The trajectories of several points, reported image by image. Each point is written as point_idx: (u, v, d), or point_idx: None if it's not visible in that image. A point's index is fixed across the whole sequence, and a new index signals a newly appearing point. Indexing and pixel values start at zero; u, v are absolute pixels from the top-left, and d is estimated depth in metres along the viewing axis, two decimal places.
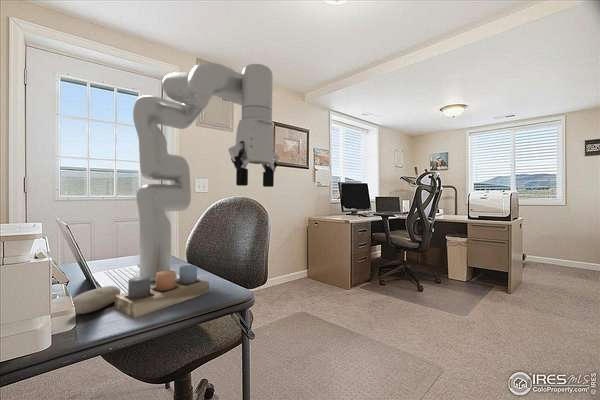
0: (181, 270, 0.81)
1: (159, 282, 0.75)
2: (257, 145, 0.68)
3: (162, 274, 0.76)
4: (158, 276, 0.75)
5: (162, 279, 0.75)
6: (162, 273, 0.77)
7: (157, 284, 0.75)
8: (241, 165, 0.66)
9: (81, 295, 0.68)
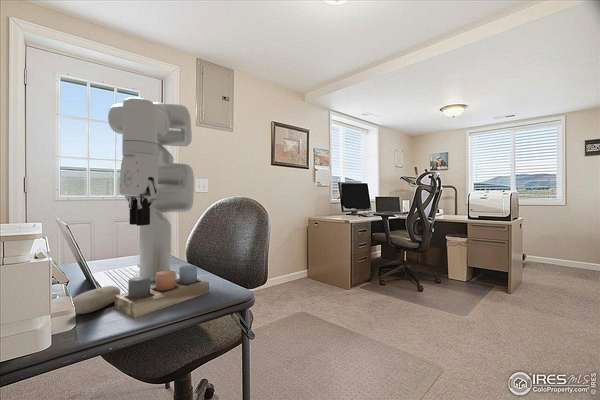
0: (181, 270, 0.81)
1: (159, 282, 0.75)
2: None
3: (162, 274, 0.76)
4: (158, 276, 0.75)
5: (162, 279, 0.75)
6: (162, 273, 0.77)
7: (157, 284, 0.75)
8: (149, 208, 0.70)
9: (81, 295, 0.68)
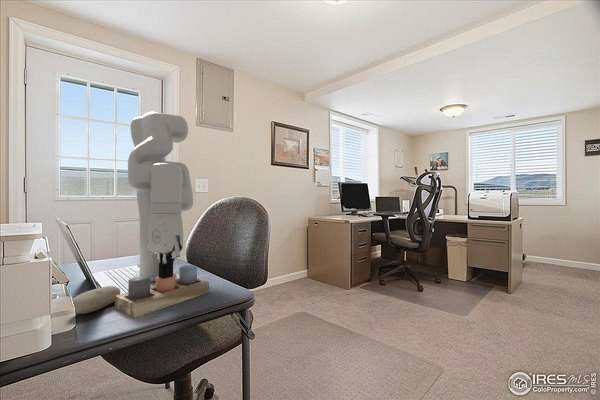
0: (181, 270, 0.81)
1: (159, 286, 0.75)
2: None
3: None
4: (158, 280, 0.75)
5: (162, 283, 0.75)
6: None
7: (157, 288, 0.75)
8: None
9: (81, 295, 0.68)
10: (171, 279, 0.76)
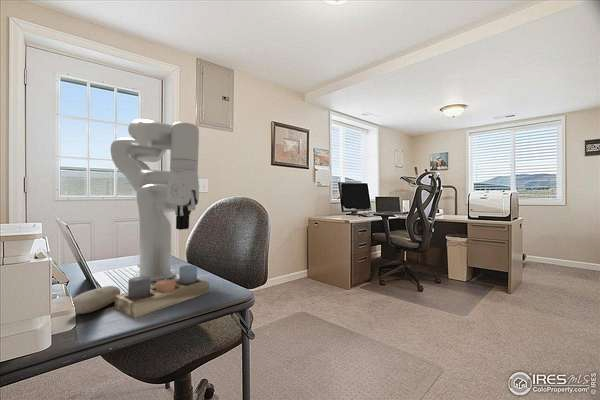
0: (181, 270, 0.81)
1: None
2: None
3: (162, 284, 0.76)
4: (158, 286, 0.75)
5: (162, 289, 0.75)
6: (162, 283, 0.77)
7: None
8: (189, 215, 0.84)
9: (81, 295, 0.68)
10: (171, 284, 0.76)
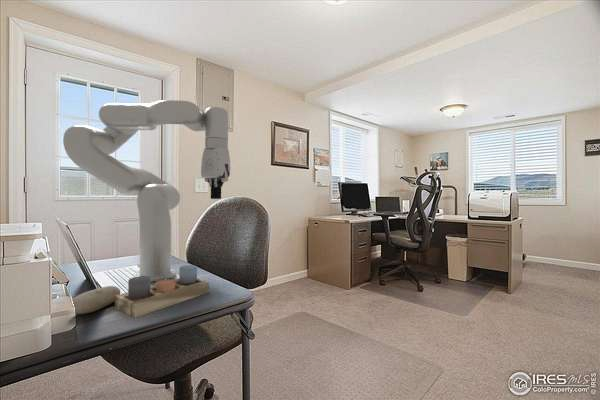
0: (181, 270, 0.81)
1: None
2: None
3: (162, 284, 0.76)
4: (158, 286, 0.75)
5: (162, 289, 0.75)
6: (162, 283, 0.77)
7: None
8: (221, 186, 0.98)
9: (81, 295, 0.68)
10: (171, 284, 0.76)
